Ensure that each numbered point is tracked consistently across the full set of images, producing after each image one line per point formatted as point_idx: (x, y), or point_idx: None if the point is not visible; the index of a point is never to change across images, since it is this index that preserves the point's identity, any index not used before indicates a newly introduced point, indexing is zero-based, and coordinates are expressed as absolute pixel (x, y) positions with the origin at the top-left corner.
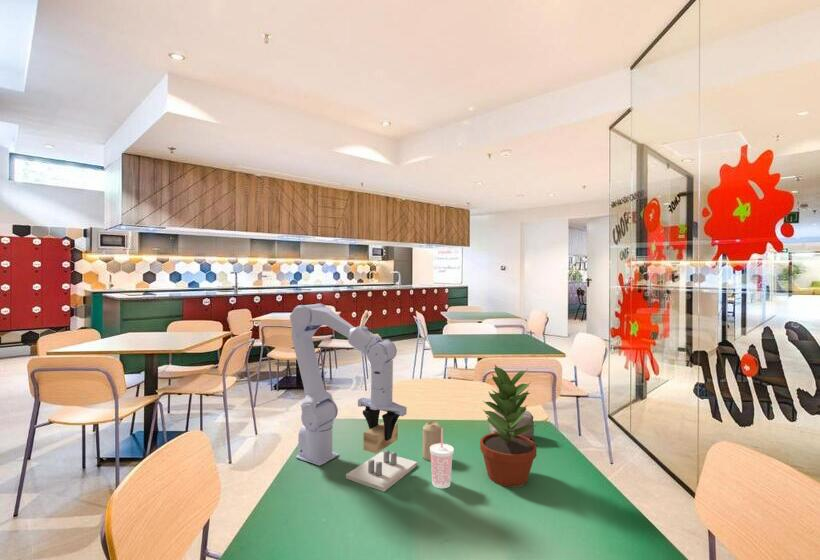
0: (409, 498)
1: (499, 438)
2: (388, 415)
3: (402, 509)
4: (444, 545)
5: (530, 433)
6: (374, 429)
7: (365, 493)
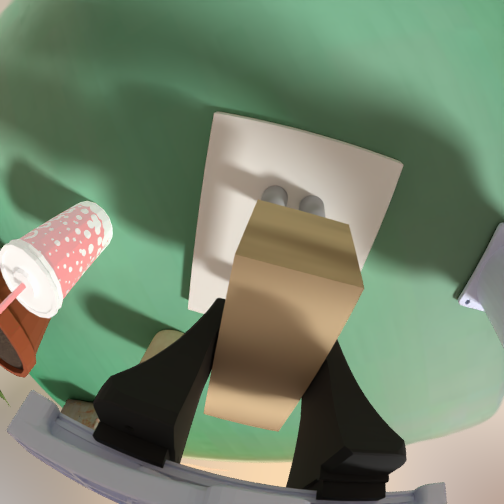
0: (127, 111)
1: (10, 356)
2: (124, 420)
3: (124, 49)
4: (23, 5)
5: (65, 405)
6: (297, 347)
7: (280, 77)
